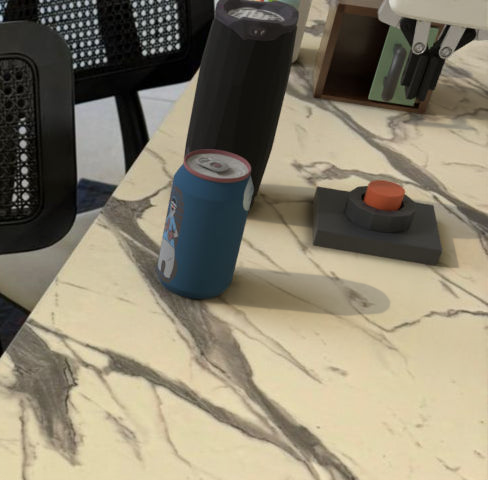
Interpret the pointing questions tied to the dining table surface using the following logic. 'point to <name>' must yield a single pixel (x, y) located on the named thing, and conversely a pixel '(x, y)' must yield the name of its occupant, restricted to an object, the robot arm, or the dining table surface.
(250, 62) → the portable speaker
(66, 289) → the dining table surface
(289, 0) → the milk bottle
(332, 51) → the cabinet
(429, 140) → the dining table surface
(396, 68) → the sliding door
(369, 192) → the button
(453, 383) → the dining table surface
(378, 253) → the control block
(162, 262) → the soda can
